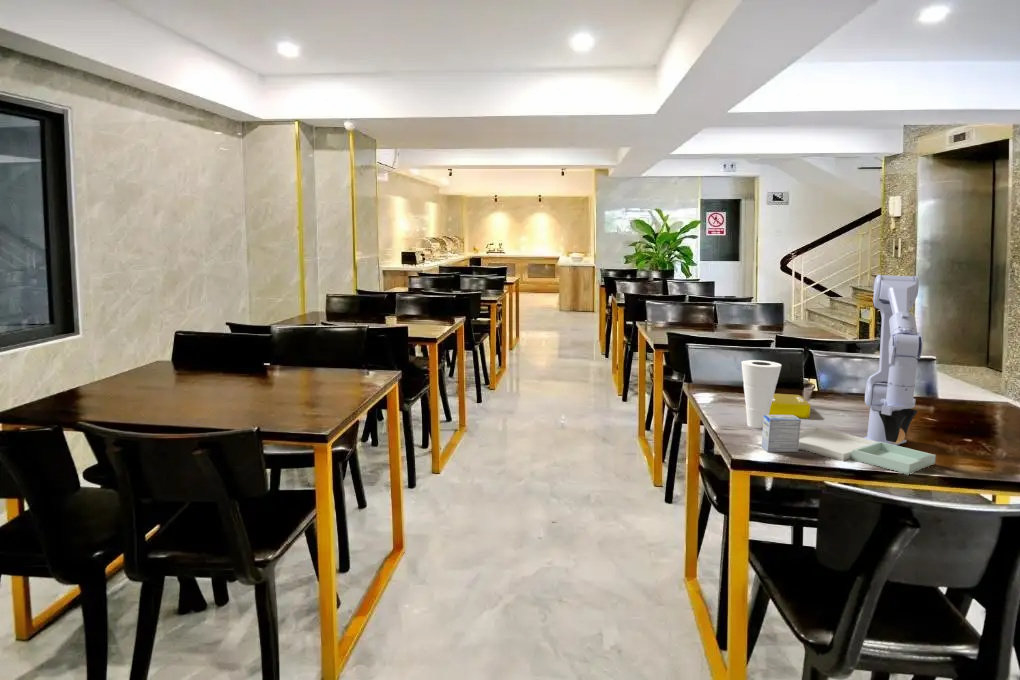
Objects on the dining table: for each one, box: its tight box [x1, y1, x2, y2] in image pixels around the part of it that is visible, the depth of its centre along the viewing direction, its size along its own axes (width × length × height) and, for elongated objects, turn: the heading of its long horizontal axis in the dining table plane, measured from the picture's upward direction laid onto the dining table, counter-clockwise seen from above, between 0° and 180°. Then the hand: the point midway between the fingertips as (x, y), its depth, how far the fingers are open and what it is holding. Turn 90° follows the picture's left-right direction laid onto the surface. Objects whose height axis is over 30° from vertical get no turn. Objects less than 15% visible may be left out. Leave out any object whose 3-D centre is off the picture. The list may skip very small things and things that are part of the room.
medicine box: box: [761, 415, 802, 453], centre depth 186 cm, size 8×4×9 cm, turn 92°
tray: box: [798, 426, 877, 462], centre depth 191 cm, size 18×18×2 cm
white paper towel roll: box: [740, 359, 782, 429], centre depth 207 cm, size 11×11×18 cm
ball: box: [890, 428, 906, 443], centre depth 177 cm, size 4×4×4 cm
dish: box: [851, 442, 937, 476], centre depth 178 cm, size 13×13×2 cm
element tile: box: [769, 392, 812, 419], centre depth 227 cm, size 15×15×5 cm
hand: (895, 439), depth 177 cm, fingers closed on ball, 4 cm apart
